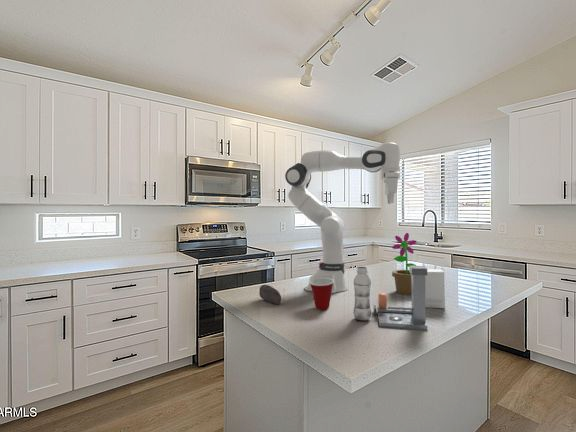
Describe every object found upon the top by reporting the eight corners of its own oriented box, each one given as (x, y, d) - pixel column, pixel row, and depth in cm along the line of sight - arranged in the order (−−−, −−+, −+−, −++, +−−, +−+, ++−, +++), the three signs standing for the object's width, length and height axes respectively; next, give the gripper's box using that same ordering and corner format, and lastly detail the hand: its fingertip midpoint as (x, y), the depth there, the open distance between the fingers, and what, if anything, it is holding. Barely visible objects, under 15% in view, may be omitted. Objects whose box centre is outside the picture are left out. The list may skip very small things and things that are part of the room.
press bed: (379, 326, 109) (378, 268, 109) (377, 316, 120) (377, 263, 120) (429, 330, 105) (428, 270, 105) (423, 319, 116) (422, 264, 116)
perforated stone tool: (285, 305, 136) (285, 289, 136) (275, 307, 133) (275, 291, 133) (267, 297, 149) (267, 283, 148) (258, 299, 146) (258, 285, 145)
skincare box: (442, 304, 134) (442, 269, 133) (445, 309, 127) (445, 272, 127) (422, 302, 136) (422, 268, 136) (423, 307, 130) (423, 271, 130)
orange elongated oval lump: (377, 311, 121) (377, 295, 121) (377, 309, 125) (377, 292, 124) (388, 312, 120) (388, 295, 120) (387, 309, 124) (387, 293, 123)
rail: (373, 315, 121) (373, 308, 121) (373, 311, 126) (373, 305, 126) (425, 318, 117) (425, 311, 117) (423, 314, 121) (422, 308, 121)
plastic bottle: (351, 317, 120) (350, 266, 119) (368, 316, 120) (367, 265, 120) (356, 323, 113) (355, 269, 113) (373, 322, 114) (373, 269, 113)
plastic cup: (304, 307, 132) (303, 280, 132) (321, 302, 139) (321, 276, 139) (322, 313, 124) (322, 284, 124) (339, 308, 131) (339, 280, 131)
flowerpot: (416, 288, 161) (416, 232, 160) (426, 296, 146) (426, 234, 146) (389, 288, 162) (388, 232, 162) (395, 296, 148) (395, 234, 147)
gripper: (382, 177, 161) (382, 203, 162) (385, 173, 141) (385, 203, 142) (394, 177, 160) (394, 203, 160) (399, 172, 140) (399, 202, 140)
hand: (390, 203), depth 151 cm, fingers open, 8 cm apart
